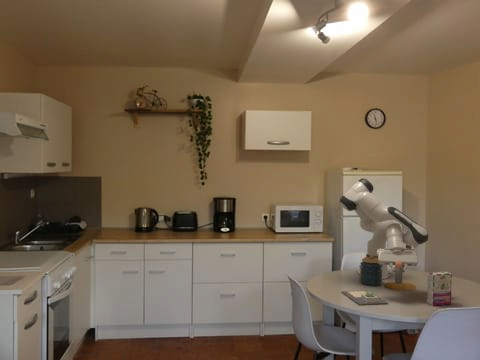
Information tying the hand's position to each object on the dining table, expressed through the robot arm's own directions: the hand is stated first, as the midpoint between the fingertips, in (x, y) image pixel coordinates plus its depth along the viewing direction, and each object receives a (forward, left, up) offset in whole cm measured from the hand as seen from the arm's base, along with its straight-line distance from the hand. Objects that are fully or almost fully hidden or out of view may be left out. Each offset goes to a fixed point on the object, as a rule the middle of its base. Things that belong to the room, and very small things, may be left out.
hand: (398, 271), depth 226 cm
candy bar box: (+5, +20, -16) cm, 26 cm away
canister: (-36, +3, -16) cm, 39 cm away
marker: (-1, 0, -6) cm, 6 cm away
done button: (-2, -15, -14) cm, 20 cm away
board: (-9, -15, -16) cm, 24 cm away
